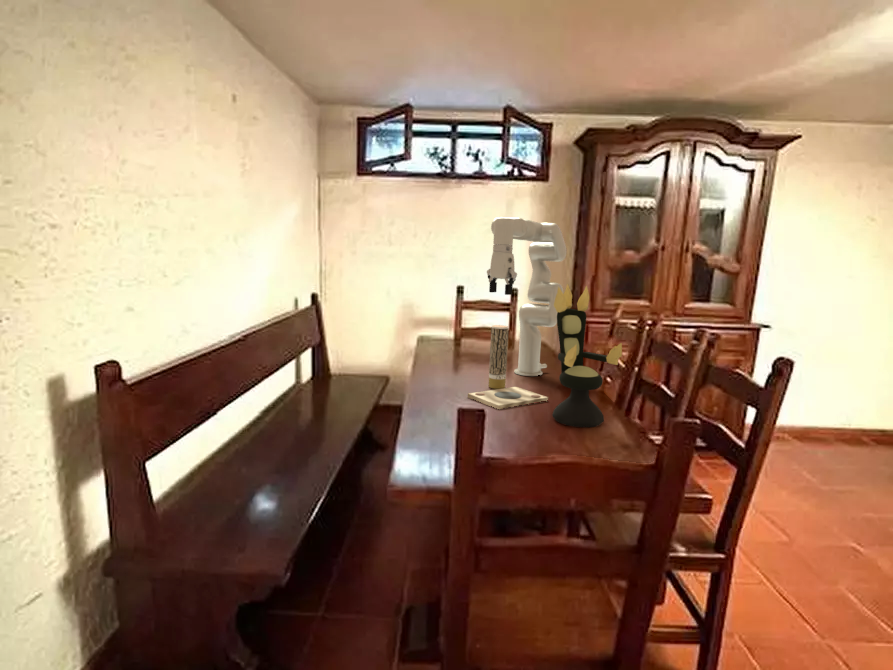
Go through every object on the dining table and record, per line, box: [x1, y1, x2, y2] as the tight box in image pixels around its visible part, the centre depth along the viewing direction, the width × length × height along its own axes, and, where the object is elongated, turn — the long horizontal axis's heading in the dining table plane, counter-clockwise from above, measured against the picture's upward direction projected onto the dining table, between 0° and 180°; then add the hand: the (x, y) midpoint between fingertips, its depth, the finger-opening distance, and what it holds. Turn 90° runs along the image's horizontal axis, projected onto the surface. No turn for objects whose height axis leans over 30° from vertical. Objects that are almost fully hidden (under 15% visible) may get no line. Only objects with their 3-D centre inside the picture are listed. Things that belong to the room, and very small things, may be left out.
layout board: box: [467, 386, 549, 410], centre depth 220 cm, size 24×18×2 cm
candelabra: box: [552, 283, 623, 428], centre depth 194 cm, size 19×22×45 cm
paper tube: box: [488, 324, 509, 390], centre depth 236 cm, size 7×7×25 cm
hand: (500, 293), depth 232 cm, fingers open, 9 cm apart
